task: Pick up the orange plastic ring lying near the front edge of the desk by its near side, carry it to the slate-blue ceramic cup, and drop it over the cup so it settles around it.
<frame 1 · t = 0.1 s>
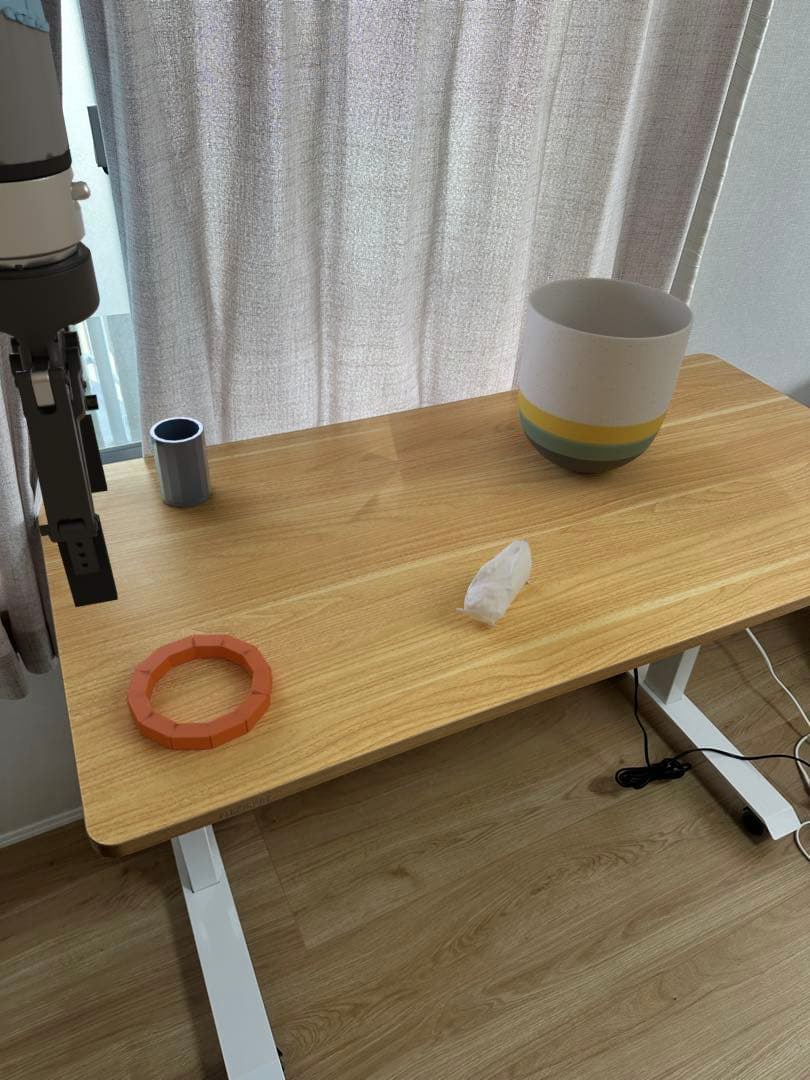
hand: (92, 541, 59), 20 cm above the table, tool pointing down, fingers open, 13 cm apart
cup: (186, 493, 99), on the table
planter: (579, 459, 109), on the table
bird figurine: (496, 604, 85), on the table
ring: (202, 694, 73), on the table
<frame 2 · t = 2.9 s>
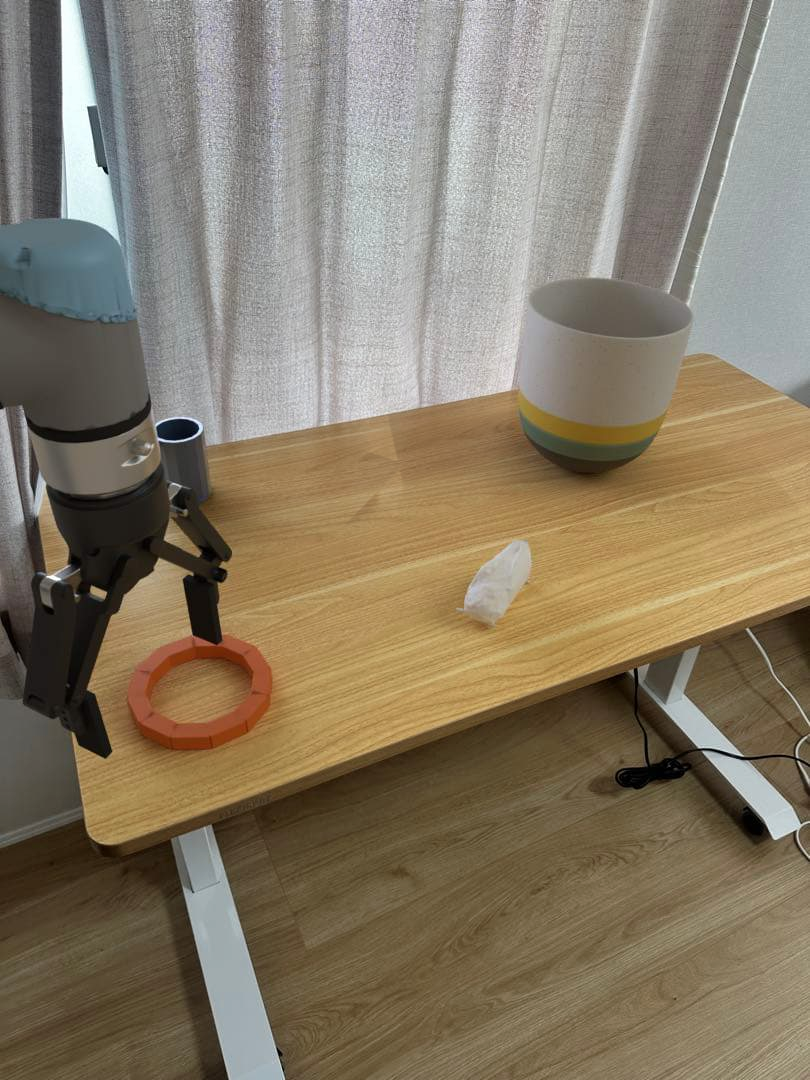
hand: (155, 689, 66), 6 cm above the table, tool pointing down, fingers open, 13 cm apart
nothing on the table moved.
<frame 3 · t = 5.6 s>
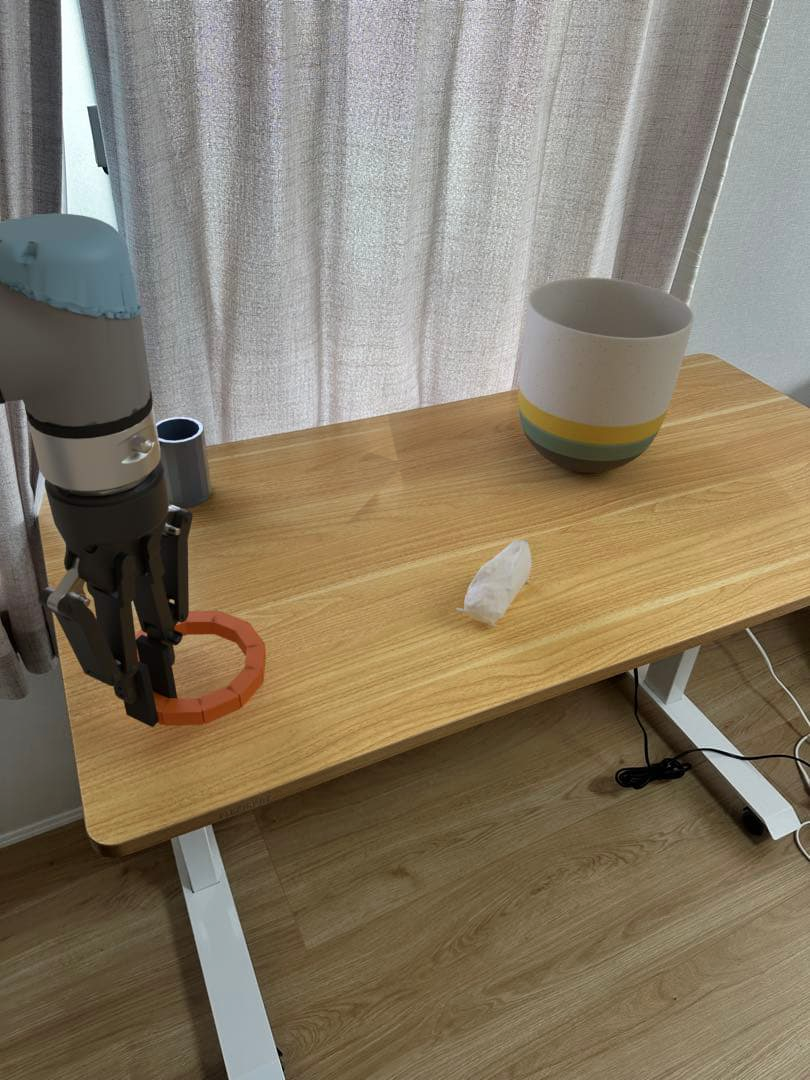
hand: (152, 707, 67), 4 cm above the table, tool pointing down, fingers closed on ring, 2 cm apart
ring: (194, 670, 71), point 3 cm above the table, touching gripper
everything else where it was.
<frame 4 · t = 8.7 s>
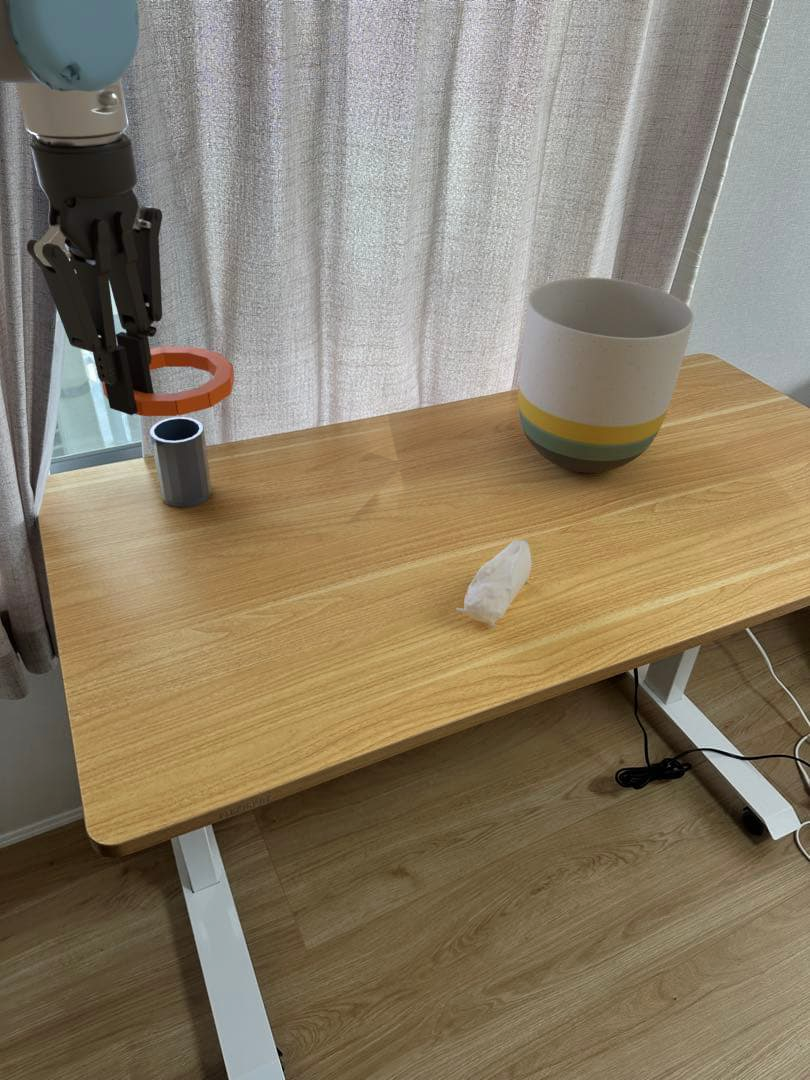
hand: (132, 404, 77), 19 cm above the table, tool pointing down, fingers closed on ring, 2 cm apart
ring: (170, 386, 81), point 19 cm above the table, touching gripper
everything else where it was.
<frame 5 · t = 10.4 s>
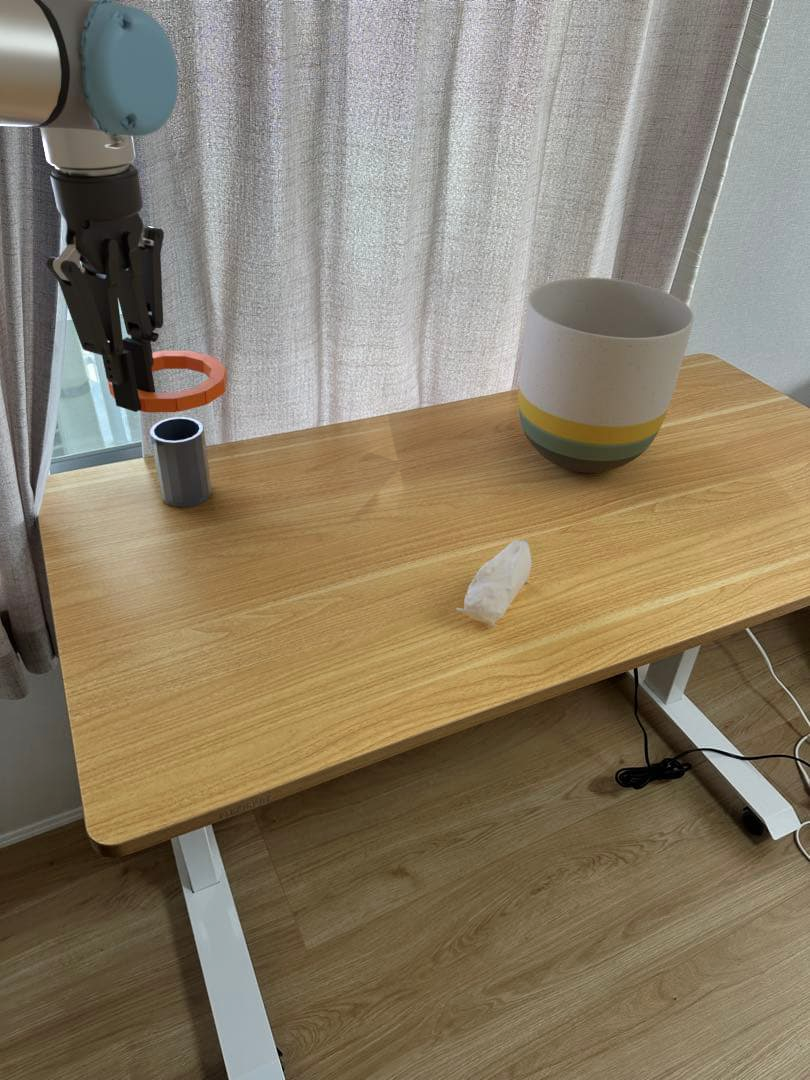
hand: (136, 402, 86), 15 cm above the table, tool pointing down, fingers closed on ring, 2 cm apart
ring: (170, 386, 90), point 14 cm above the table, touching gripper
everything else where it was.
when the fingers open (11 cm above the table, at t = 11.7 s): ring drops 11 cm, on the table.
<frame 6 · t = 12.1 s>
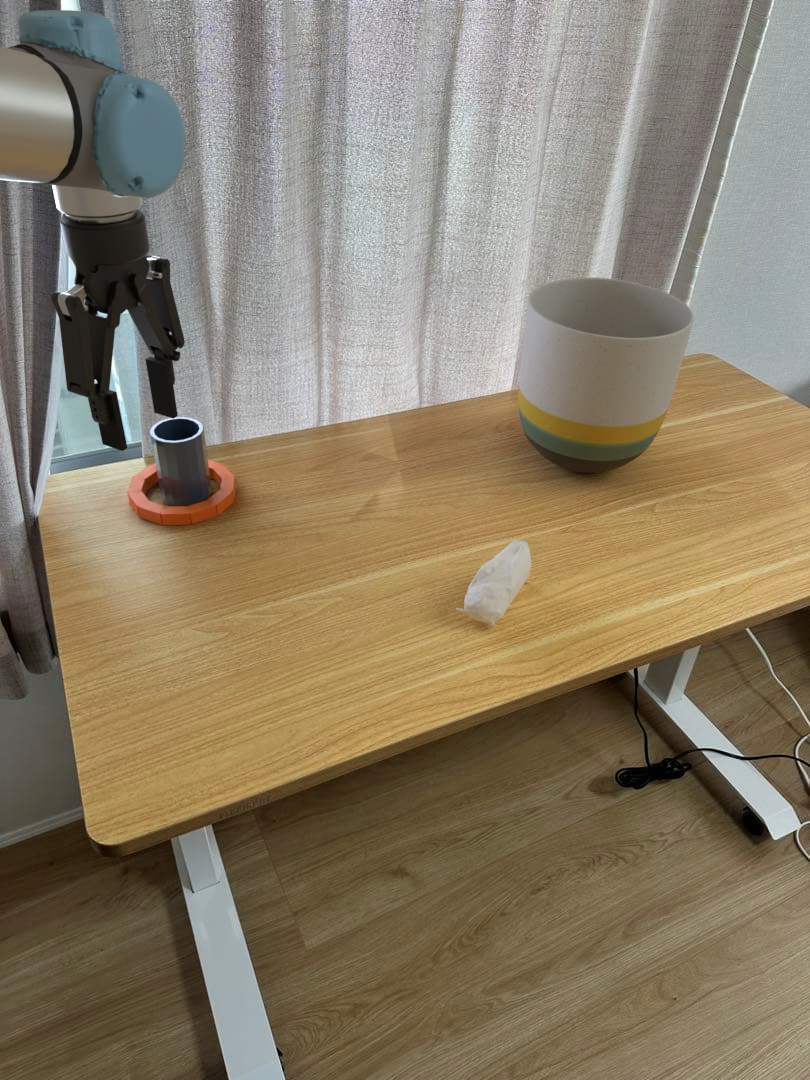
hand: (141, 429, 88), 12 cm above the table, tool pointing down, fingers open, 7 cm apart
ring: (183, 495, 99), on the table
everything else where it was.
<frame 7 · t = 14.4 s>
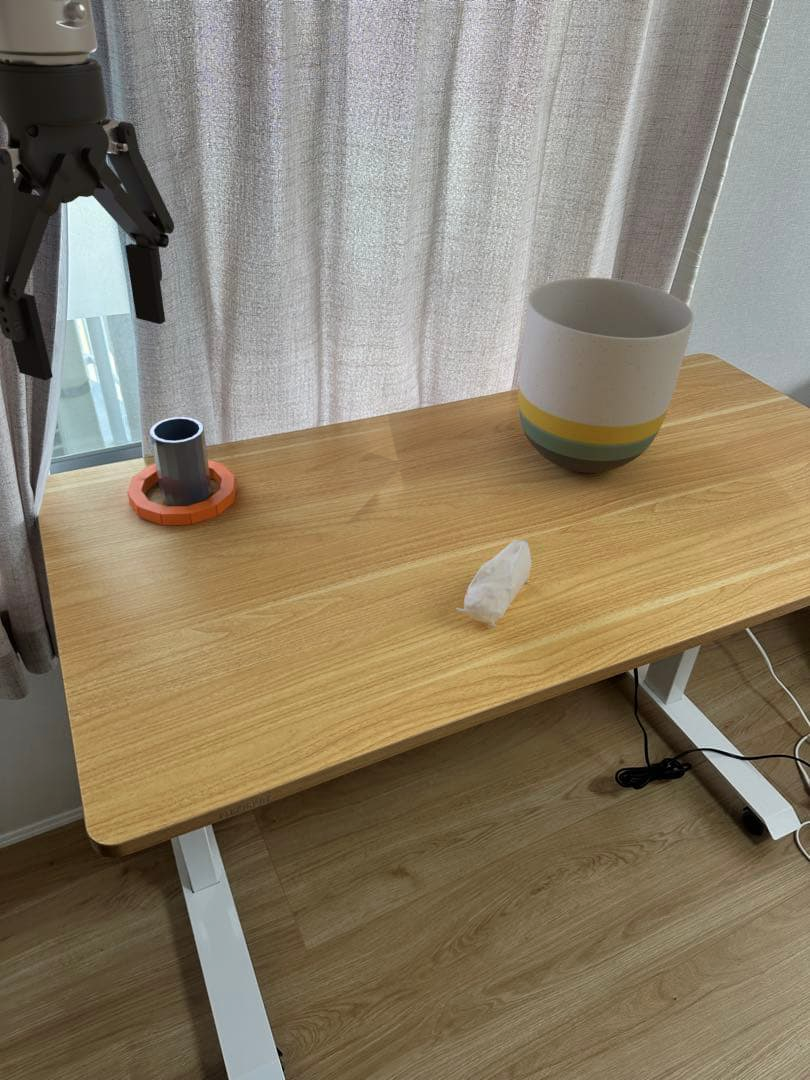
hand: (97, 345, 69), 27 cm above the table, tool pointing down, fingers open, 13 cm apart
nothing on the table moved.
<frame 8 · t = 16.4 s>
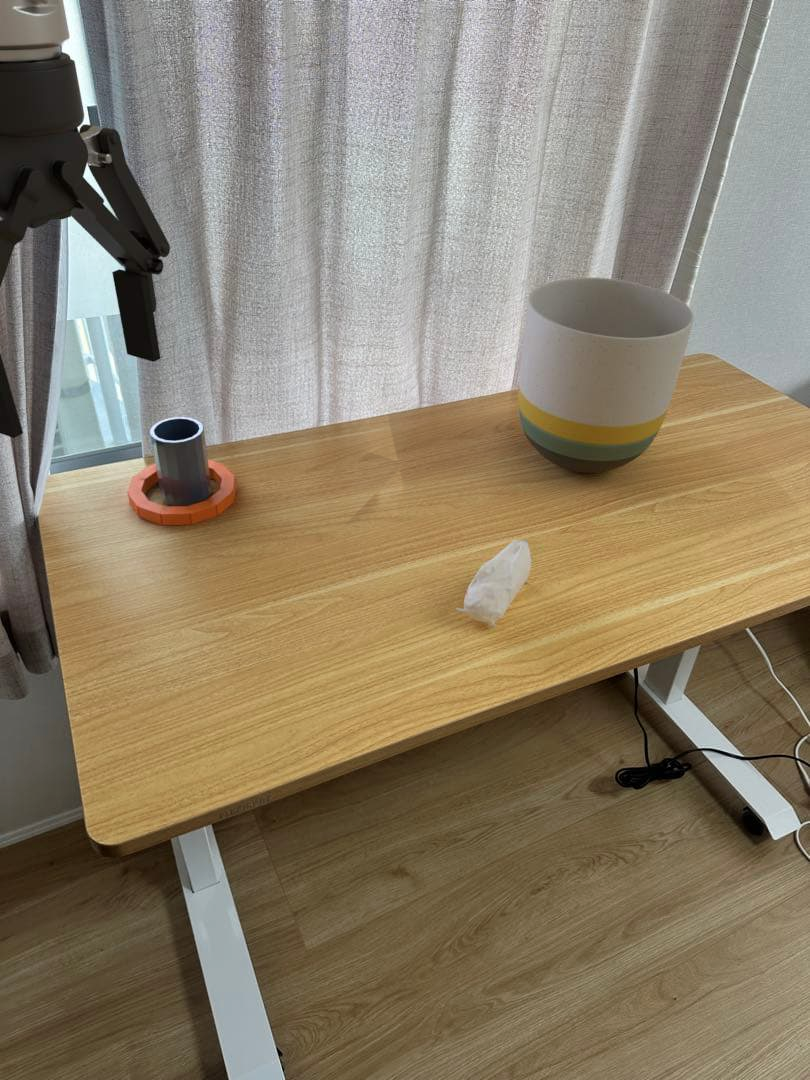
hand: (79, 390, 58), 29 cm above the table, tool pointing down, fingers open, 13 cm apart
nothing on the table moved.
at the end: ring 0.4 cm from the cup (horizontally); ring on the table; the gripper is holding nothing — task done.
